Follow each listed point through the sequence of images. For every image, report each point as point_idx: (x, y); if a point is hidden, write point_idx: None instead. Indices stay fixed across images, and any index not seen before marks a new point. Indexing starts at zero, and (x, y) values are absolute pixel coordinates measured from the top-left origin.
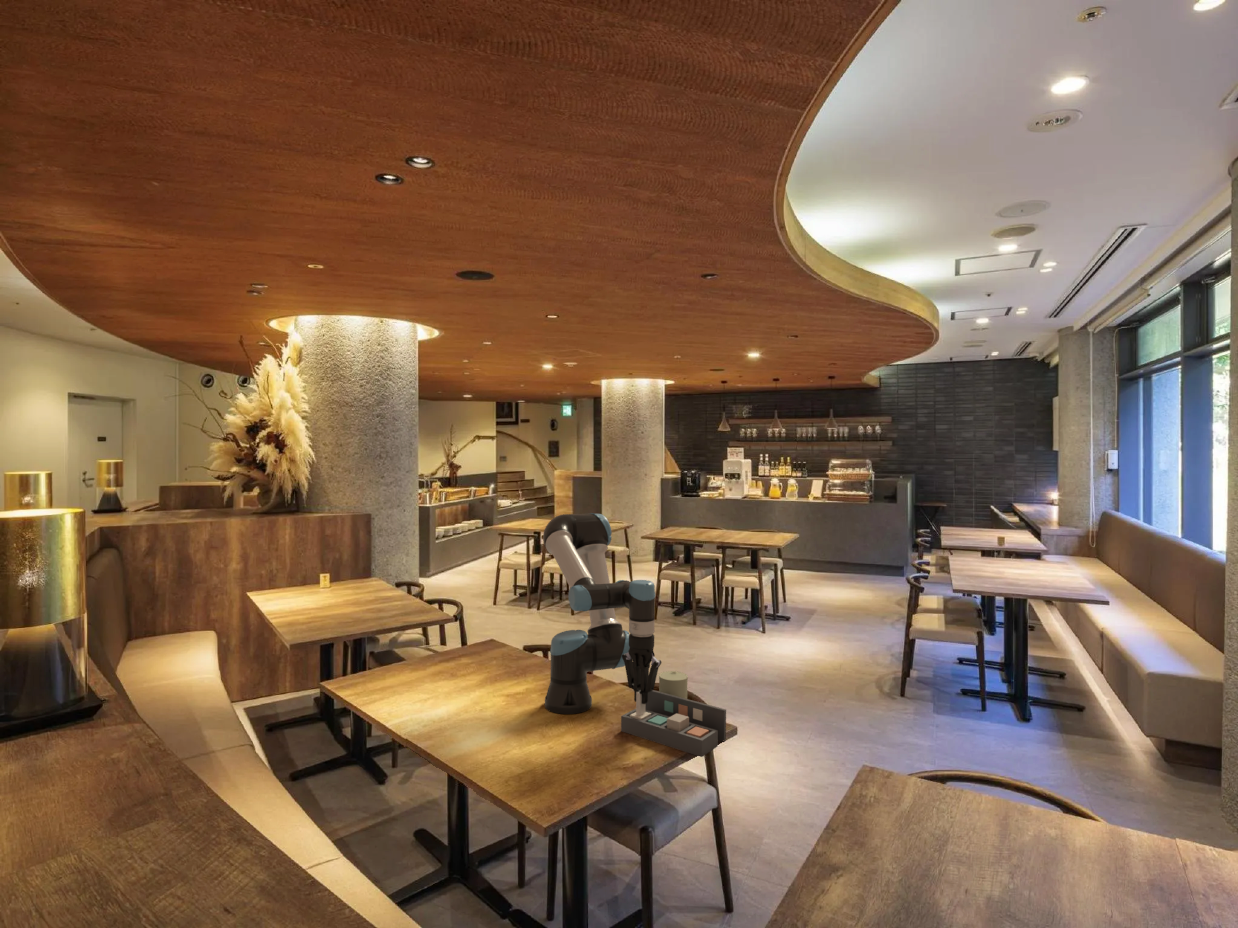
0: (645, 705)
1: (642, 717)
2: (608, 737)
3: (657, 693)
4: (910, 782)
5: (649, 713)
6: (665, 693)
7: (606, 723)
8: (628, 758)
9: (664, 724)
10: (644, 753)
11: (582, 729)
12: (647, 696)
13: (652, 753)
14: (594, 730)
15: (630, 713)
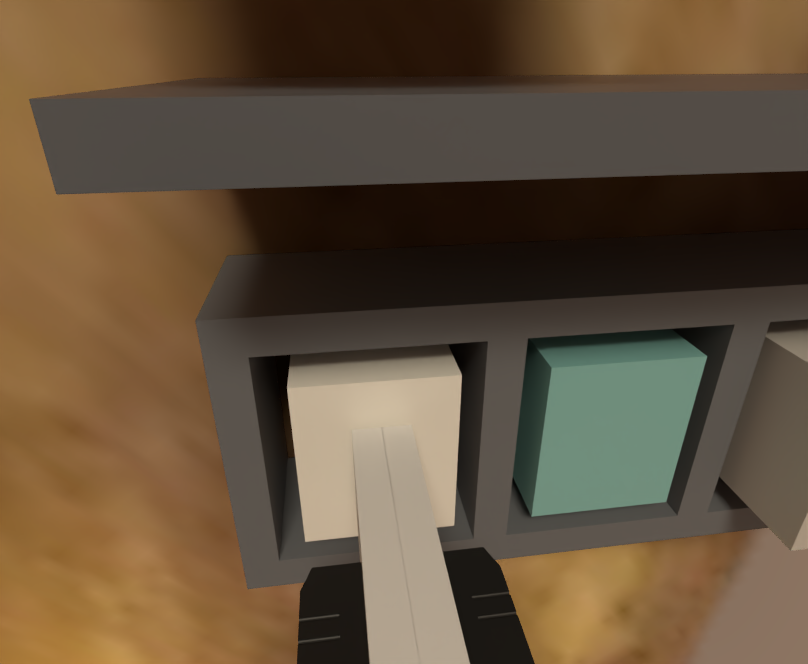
0: (424, 483)
1: (446, 503)
2: (278, 590)
3: (430, 174)
4: None
5: (445, 388)
6: (625, 106)
7: (48, 461)
8: (548, 658)
9: (697, 472)
10: (593, 583)
11: (35, 626)
12: (522, 636)
13: (633, 558)
14: (110, 587)
15: (269, 499)
